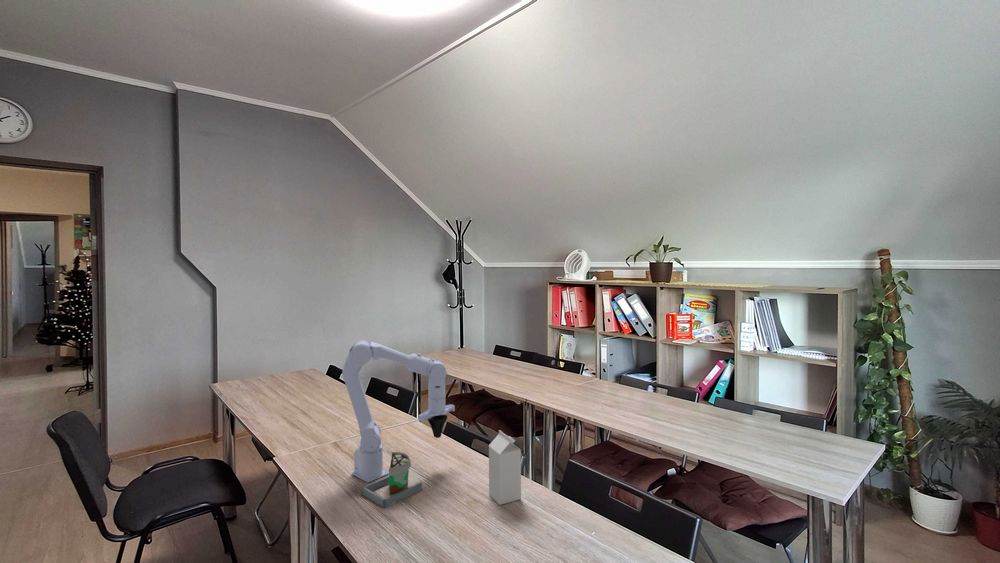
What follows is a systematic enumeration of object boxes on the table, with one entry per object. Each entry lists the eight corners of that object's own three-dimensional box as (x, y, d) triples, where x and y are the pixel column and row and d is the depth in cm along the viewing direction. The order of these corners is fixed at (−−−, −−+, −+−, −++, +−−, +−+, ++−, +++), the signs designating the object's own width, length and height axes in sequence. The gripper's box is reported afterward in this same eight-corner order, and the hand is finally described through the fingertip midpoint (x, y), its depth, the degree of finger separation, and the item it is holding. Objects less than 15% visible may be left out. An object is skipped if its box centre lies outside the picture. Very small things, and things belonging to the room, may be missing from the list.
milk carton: (499, 505, 130) (499, 440, 129) (488, 494, 137) (488, 432, 136) (521, 499, 134) (521, 436, 133) (509, 488, 140) (509, 428, 139)
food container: (410, 501, 133) (410, 467, 133) (389, 502, 132) (388, 469, 132) (411, 480, 145) (411, 449, 145) (392, 482, 144) (391, 451, 144)
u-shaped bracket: (361, 493, 137) (361, 487, 137) (399, 477, 148) (399, 471, 147) (384, 507, 130) (384, 500, 129) (422, 489, 140) (422, 482, 140)
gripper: (427, 404, 146) (428, 446, 146) (460, 394, 156) (460, 433, 157) (414, 400, 150) (414, 440, 151) (446, 390, 161) (447, 428, 162)
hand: (437, 436), depth 154 cm, fingers closed
